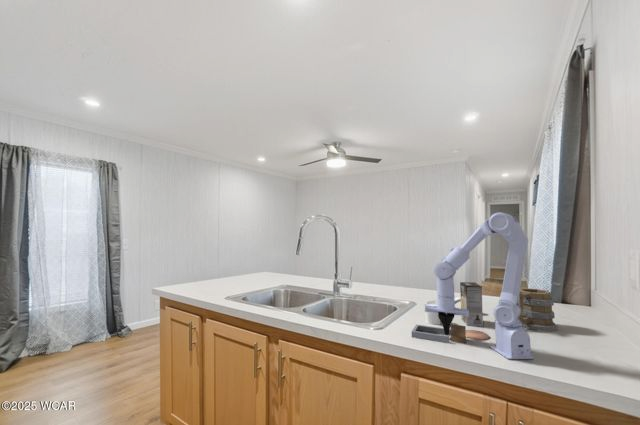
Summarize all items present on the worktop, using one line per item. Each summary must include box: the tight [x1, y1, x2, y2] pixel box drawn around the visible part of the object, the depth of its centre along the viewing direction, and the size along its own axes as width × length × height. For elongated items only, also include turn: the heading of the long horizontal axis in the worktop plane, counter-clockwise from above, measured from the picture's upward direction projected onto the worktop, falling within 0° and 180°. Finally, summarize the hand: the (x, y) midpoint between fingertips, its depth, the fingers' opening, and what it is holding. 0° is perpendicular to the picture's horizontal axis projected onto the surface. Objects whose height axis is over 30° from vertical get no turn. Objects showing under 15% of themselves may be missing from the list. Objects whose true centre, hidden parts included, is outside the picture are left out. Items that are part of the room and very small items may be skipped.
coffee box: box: [459, 281, 484, 327], centre depth 123 cm, size 9×6×16 cm
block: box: [450, 323, 467, 344], centre depth 103 cm, size 4×4×4 cm
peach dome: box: [466, 329, 490, 341], centre depth 107 cm, size 9×9×1 cm
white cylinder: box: [423, 303, 441, 325], centre depth 124 cm, size 7×7×7 cm
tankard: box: [518, 287, 559, 332], centre depth 117 cm, size 20×13×15 cm, turn 110°
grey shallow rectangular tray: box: [411, 324, 451, 344], centre depth 107 cm, size 12×9×2 cm
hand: (447, 334), depth 105 cm, fingers closed
